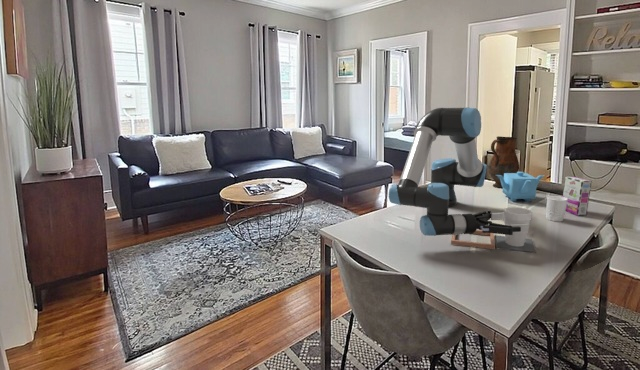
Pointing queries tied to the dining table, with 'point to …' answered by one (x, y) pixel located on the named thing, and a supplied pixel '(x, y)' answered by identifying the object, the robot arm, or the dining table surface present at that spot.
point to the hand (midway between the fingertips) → (517, 221)
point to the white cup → (556, 208)
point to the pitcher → (503, 159)
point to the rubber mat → (526, 248)
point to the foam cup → (516, 217)
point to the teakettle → (519, 185)
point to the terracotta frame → (476, 244)
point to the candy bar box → (577, 195)
